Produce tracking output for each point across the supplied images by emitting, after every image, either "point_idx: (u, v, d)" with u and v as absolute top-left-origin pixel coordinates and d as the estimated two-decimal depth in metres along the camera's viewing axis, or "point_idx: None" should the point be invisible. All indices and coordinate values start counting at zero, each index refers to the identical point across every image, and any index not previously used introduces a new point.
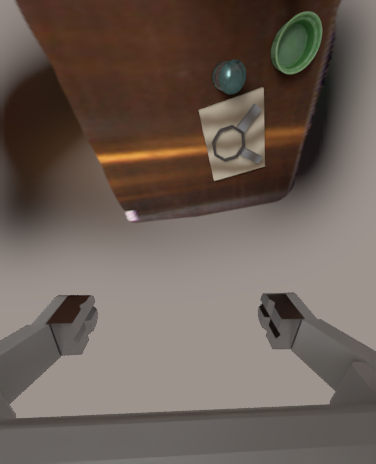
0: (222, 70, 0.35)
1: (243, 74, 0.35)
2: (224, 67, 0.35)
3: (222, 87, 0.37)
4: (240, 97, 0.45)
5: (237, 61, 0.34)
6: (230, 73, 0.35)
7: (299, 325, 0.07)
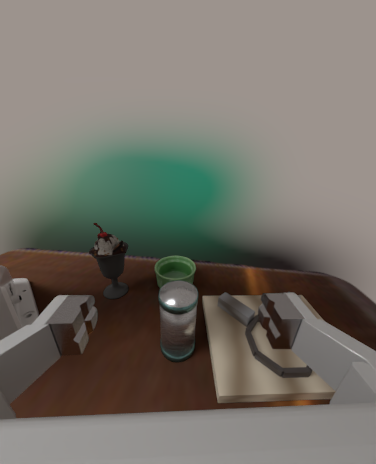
0: (165, 303, 0.22)
1: (179, 282, 0.26)
2: (162, 300, 0.23)
3: (185, 305, 0.22)
4: (208, 319, 0.30)
5: (163, 286, 0.25)
6: (172, 294, 0.24)
7: (299, 325, 0.07)
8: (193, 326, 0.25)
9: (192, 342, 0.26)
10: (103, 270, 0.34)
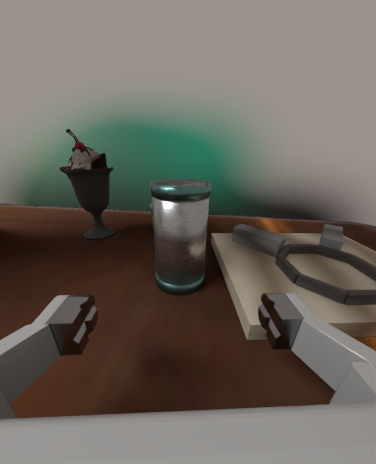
0: (160, 185, 0.14)
1: (181, 179, 0.18)
2: (156, 183, 0.14)
3: (193, 186, 0.14)
4: (221, 251, 0.22)
5: (158, 180, 0.17)
6: (172, 182, 0.15)
7: (299, 325, 0.07)
8: (203, 236, 0.16)
9: (201, 266, 0.18)
10: (80, 196, 0.26)
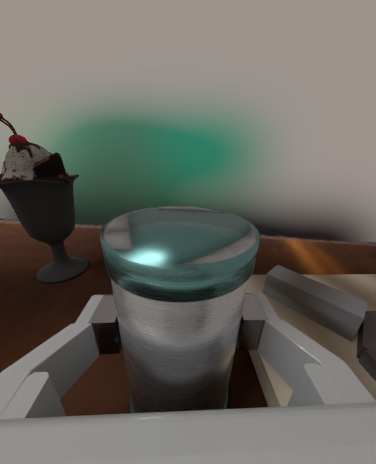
0: (119, 248, 0.05)
1: (183, 209, 0.08)
2: (111, 239, 0.05)
3: (219, 256, 0.04)
4: None
5: (129, 214, 0.07)
6: (158, 227, 0.06)
7: (262, 326, 0.07)
8: (234, 348, 0.07)
9: (225, 396, 0.08)
10: (23, 221, 0.16)
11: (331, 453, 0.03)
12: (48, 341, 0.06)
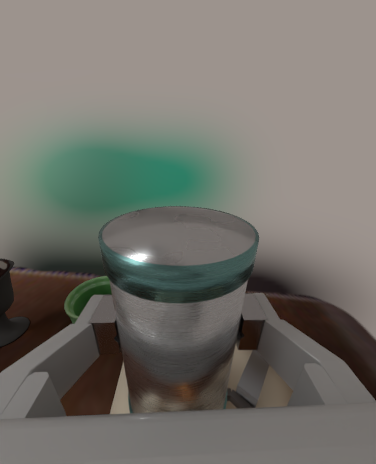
0: (117, 249, 0.05)
1: (182, 209, 0.08)
2: (110, 240, 0.05)
3: (218, 256, 0.04)
4: (116, 397, 0.18)
5: (128, 214, 0.07)
6: (157, 228, 0.06)
7: (262, 326, 0.07)
8: (233, 349, 0.07)
9: (224, 397, 0.08)
10: None
11: (331, 453, 0.03)
12: (48, 341, 0.06)
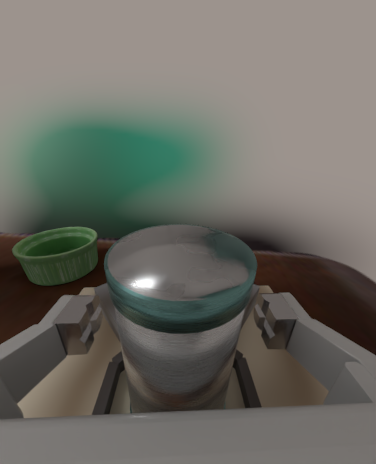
0: (122, 280, 0.05)
1: (183, 228, 0.09)
2: (115, 269, 0.05)
3: (218, 290, 0.05)
4: None
5: (131, 235, 0.08)
6: (160, 253, 0.06)
7: (293, 325, 0.07)
8: (231, 366, 0.07)
9: None
10: None
11: (331, 453, 0.03)
12: (7, 342, 0.06)
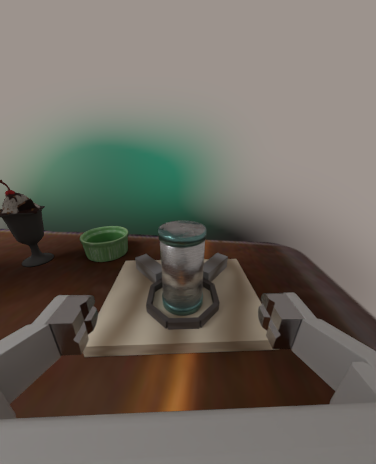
0: (166, 234, 0.18)
1: (183, 222, 0.22)
2: (163, 232, 0.19)
3: (191, 235, 0.18)
4: (117, 280, 0.27)
5: (164, 224, 0.21)
6: (175, 229, 0.20)
7: (299, 325, 0.07)
8: (201, 270, 0.21)
9: (200, 292, 0.22)
10: (13, 233, 0.31)
11: (331, 453, 0.03)
12: None
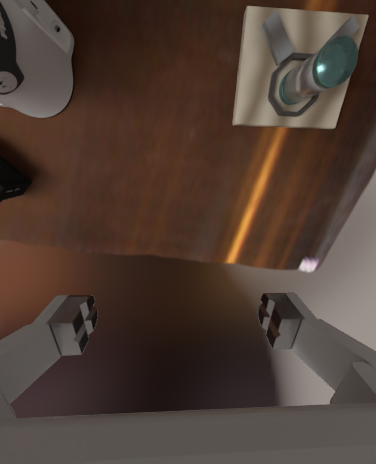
0: (321, 78, 0.24)
1: (344, 41, 0.23)
2: (320, 73, 0.24)
3: (338, 82, 0.25)
4: (243, 52, 0.31)
5: (325, 49, 0.23)
6: (331, 64, 0.24)
7: (299, 325, 0.07)
8: None
9: None
10: None
11: (331, 453, 0.03)
12: None
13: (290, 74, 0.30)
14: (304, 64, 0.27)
